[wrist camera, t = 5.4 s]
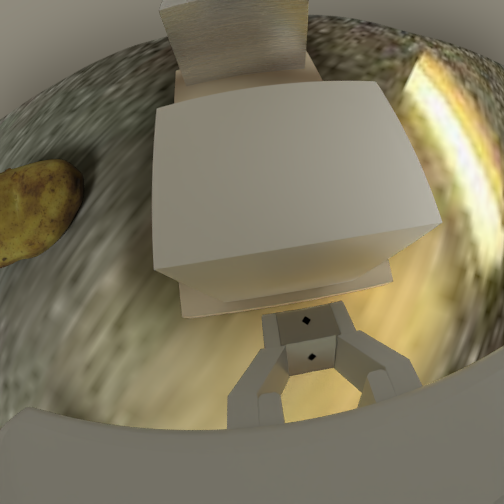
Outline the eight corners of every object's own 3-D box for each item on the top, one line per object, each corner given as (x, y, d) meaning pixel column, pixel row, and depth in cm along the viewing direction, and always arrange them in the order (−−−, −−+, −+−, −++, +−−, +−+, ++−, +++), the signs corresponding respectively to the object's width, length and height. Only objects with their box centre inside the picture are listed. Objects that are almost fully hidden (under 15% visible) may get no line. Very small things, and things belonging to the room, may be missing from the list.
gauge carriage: (396, 271, 14) (502, 212, 5) (224, 302, 15) (153, 269, 6) (354, 140, 17) (391, 32, 8) (209, 160, 17) (165, 47, 8)
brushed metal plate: (304, 68, 19) (308, -11, 11) (186, 86, 19) (158, 10, 12) (295, 51, 20) (296, -21, 12) (186, 67, 20) (163, -2, 12)
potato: (88, 269, 18) (8, 237, 10) (2, 280, 18) (-57, 261, 10) (99, 171, 20) (43, 116, 12) (13, 203, 20) (-36, 172, 13)
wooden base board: (383, 285, 16) (394, 280, 14) (190, 318, 16) (181, 317, 14) (305, 62, 21) (306, 49, 19) (180, 81, 22) (175, 68, 20)
